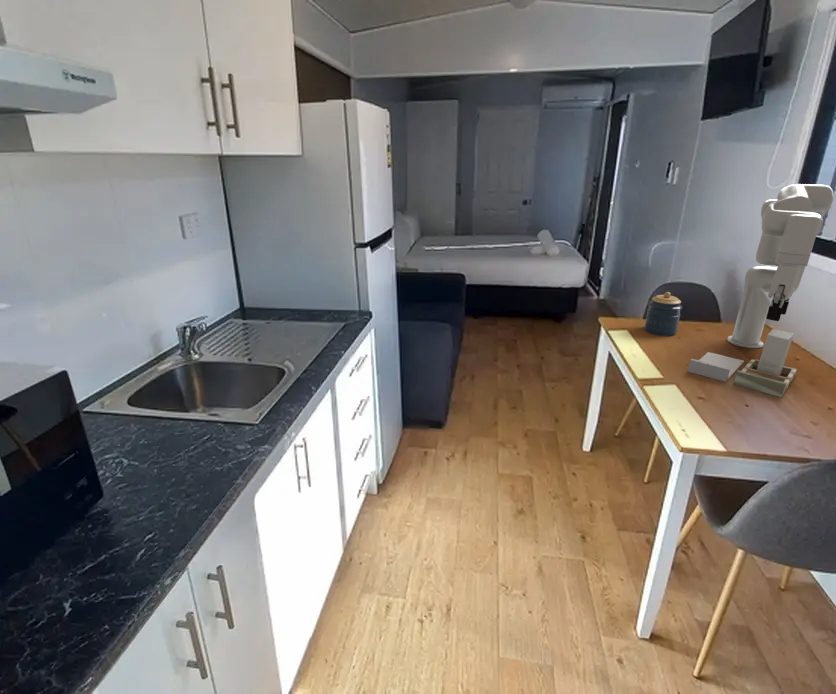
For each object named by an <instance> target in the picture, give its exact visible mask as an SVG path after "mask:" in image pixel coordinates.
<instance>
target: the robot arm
mask: <svg viewBox="0 0 836 694" xmlns="http://www.w3.org/2000/svg"><path fill="white" fill-rule="evenodd" d="M776 198H777V199H775V198H774V199H773V198H772V199H768V200H766V201H765V202H763V204H762V206H761V211H760V216H761V217H760V218H761V230H762V231H761V236H760V239H759V243H758V247H757V250H756V254H755V260H756V262H757V264H760V265H761V266H760V265H758V266H752V267H750V268H748V269H747V271H746V273H745V275H744V283H743V284H744V287H743V293H742V297H741V302H740V306H739V310H738V314H737V318H736V321H735V324H734V325H735V326H734V327H733V328H734V330H733V332H732V335H729V336H727V338H726V341H727V342H728V343H730V344H732V345H734V346H736V347H742V348H748V349H760V348H764V345H765V342H763V341H762V340H761V337H762V334H763V331H764V327H765V324H766V320H768V321H774V322H779V321H780V319H781V315H784V316H785V315H786V313H787V310H788V307H789V303H790V298H791V297H792V296H793V294H794V293H795V292H796V291H798V288H799V286H800V283H801V280H802V277H803V274H804V272H805V270H806V268H807V266H808V264H809V261H810V258H811V254H812V250H813V247H814V244H815V241H816V237H817V235H818V234H820V232H821V231H822V228H823V224H824V219H823V218H824V217H825V215H826V214H827V213H828V211H829V209H830V208H831V205H832V204H833V201H834V191H833V189H832V188H831V186H829V185H826V184H809V183H808V184H806V183H805V184H803V183H802V184H801V183H796V184H790V185H787V186H784V187H783V188H782V189H781V190H780V191H779V192H778V194H777V197H776ZM766 293H768V294H766ZM770 298H772V300H771V301H770Z"/></svg>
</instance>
